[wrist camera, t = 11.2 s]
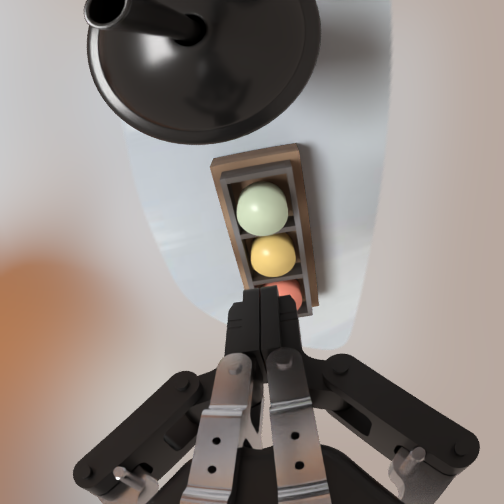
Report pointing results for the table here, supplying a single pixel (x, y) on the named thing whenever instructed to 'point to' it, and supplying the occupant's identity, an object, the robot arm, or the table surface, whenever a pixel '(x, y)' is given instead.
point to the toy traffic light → (297, 225)
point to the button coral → (289, 290)
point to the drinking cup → (201, 63)
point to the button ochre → (273, 254)
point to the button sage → (262, 209)
